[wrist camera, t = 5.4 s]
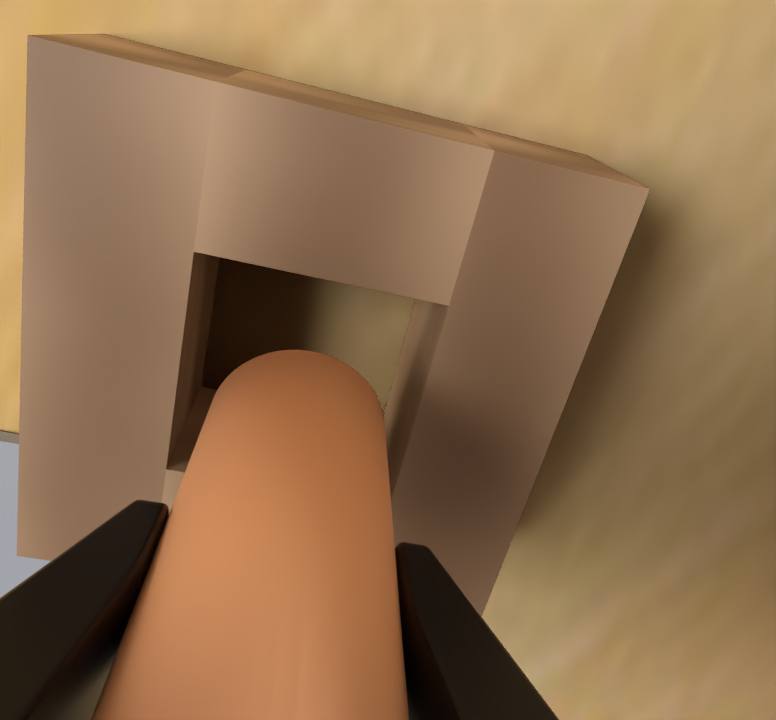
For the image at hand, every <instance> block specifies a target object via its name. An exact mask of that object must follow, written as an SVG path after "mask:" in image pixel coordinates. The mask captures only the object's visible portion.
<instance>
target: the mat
mask: <svg viewBox="0 0 776 720" xmlns="http://www.w3.org/2000/svg"><path fill="white" fill-rule="evenodd" d="M18 468H19V434H15V433H9V432H3V431H0V597H2V596H3V595H5V594H6V593H7V592H9V591H10V590H12V589H13V588H14V587H16V586H17V585H18V584H20V583H21V582H23V581H24V580H25V579H27V578H28V577H30V576H31V575H32V574H34V573H35V572H36V571H38V570H39V569H41V568H42V567H43V566H45V565H46V564H48V563H49V562H50V561H48V560H41V559H35V558H28V557H21V556H17V515H18Z"/></svg>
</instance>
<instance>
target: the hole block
mask: <svg viewBox="0 0 776 720" xmlns="http://www.w3.org/2000/svg"><path fill="white" fill-rule="evenodd" d="M649 191H650V189H649V188H647V187H645V186H643V185H641V184H639V183H638V182H636V181H634V180H632V179H630V178H628V177H626V176H625V175H623V174H621V173H619V172H617V171H615V170H613V169H611V168H610V167H608V166H606V165H604V164H602V163H600V162H598V161H597V160H595V159H593V158H591V157H589V156H587V155H584V154H580V153H576V152H572V151H568V150H564V149H560V148H556V147H552V146H548V145H544V144H540V143H536V142H532V141H528V140H524V139H520V138H516V137H512V136H508V135H504V134H500V133H496V132H492V131H488V130H484V129H480V128H476V127H472V126H469V125H465V124H461V123H457V122H453V121H449V120H445V119H441V118H437V117H433V116H429V115H425V114H421V113H417V112H413V111H409V110H405V109H401V108H397V107H393V106H389V105H385V104H381V103H377V102H373V101H369V100H365V99H361V98H357V97H353V96H349V95H345V94H341V93H337V92H333V91H329V90H325V89H321V88H317V87H313V86H310V85H306V84H302V83H298V82H294V81H290V80H286V79H282V78H278V77H274V76H270V75H266V74H262V73H258V72H254V71H250V70H246V69H242V68H238V67H234V66H230V65H226V64H222V63H218V62H214V61H210V60H206V59H202V58H198V57H194V56H190V55H186V54H182V53H178V52H174V51H170V50H166V49H162V48H158V47H154V46H151V45H147V44H143V43H139V42H135V41H131V40H127V39H123V38H119V37H115V36H111V35H107V34H65V35H28V43H27V90H26V138H25V185H24V232H23V279H22V326H21V373H20V421H19V468H18V515H17V556H21V557H28V558H35V559H41V560H48V561H52V560H53V559H54V558H56V557H57V556H59V555H60V554H61V553H63V552H64V551H66V550H67V549H68V548H70V547H71V546H73V545H74V544H75V543H77V542H78V541H79V540H81V539H82V538H84V537H85V536H86V535H88V534H89V533H91V532H92V531H93V530H95V529H96V528H97V527H99V526H100V525H102V524H103V523H104V522H106V521H107V520H109V519H110V518H111V517H113V516H114V515H115V514H117V513H118V512H120V511H121V510H122V509H124V508H125V507H127V506H128V505H129V504H131V503H132V502H134V501H136V500H147V501H153V502H159V503H164V504H166V505H167V506H168V508H169V513H170V510H171V508H172V505H173V503H174V500H175V497H176V495H177V492H178V489H179V487H180V484H181V482H182V479H183V476H184V474H185V471H186V468H187V466H188V463H189V461H190V458H191V455H192V453H193V450H194V447H195V445H196V442H197V440H198V437H199V434H200V432H201V429H202V426H203V424H204V421H205V419H206V416H207V413H208V411H209V408H210V405H211V403H212V400H213V398H214V395H215V393H216V392H217V390H218V389H212V388H207V387H202V386H201V384H202V377H203V370H204V363H205V356H206V349H207V343H208V336H209V329H210V322H211V315H212V308H213V301H214V294H215V287H216V280H217V273H218V266H219V259H220V257H221V258H226V259H231V260H235V261H240V262H245V263H250V264H254V265H259V266H264V267H268V268H273V269H278V270H283V271H287V272H292V273H297V274H301V275H306V276H311V277H316V278H320V279H325V280H330V281H334V282H339V283H344V284H349V285H353V286H358V287H363V288H367V289H372V290H377V291H382V292H386V293H391V294H396V295H400V296H405V297H410V298H415V299H416V300H415V303H414V307H413V311H412V314H411V318H410V322H409V325H408V329H407V333H406V336H405V340H404V344H403V347H402V351H401V355H400V358H399V362H398V366H397V369H396V373H395V377H394V380H393V384H392V388H391V391H390V395H389V399H388V402H387V406H386V410H385V413H384V423H385V434H386V447H387V459H388V471H389V483H390V495H391V507H392V519H393V531H394V544H395V548H396V546H397V545H398V544H399V543H401V542H406V543H413V544H419V545H424V546H427V547H428V548H429V549H430V550H431V551H432V552H433V554H434V555H435V556H436V558H437V559H438V560H439V562H440V563H441V564H442V566H443V567H444V568H445V570H446V571H447V572H448V573H449V575H450V576H451V577H452V579H453V580H454V581H455V583H456V584H457V585H458V587H459V588H460V589H461V591H462V592H463V593H464V595H465V596H466V597H467V599H468V600H469V601H470V603H471V604H472V605H473V607H474V608H475V609H476V611H477V612H478V613H479V614H480V616H482V614H483V611H484V609H485V606H486V604H487V601H488V599H489V596H490V594H491V591H492V588H493V586H494V583H495V581H496V578H497V576H498V573H499V571H500V568H501V566H502V563H503V561H504V558H505V556H506V553H507V550H508V548H509V545H510V543H511V540H512V538H513V535H514V533H515V530H516V528H517V525H518V523H519V520H520V518H521V515H522V513H523V510H524V507H525V505H526V502H527V500H528V497H529V495H530V492H531V490H532V487H533V485H534V482H535V480H536V477H537V475H538V472H539V469H540V467H541V464H542V462H543V459H544V457H545V454H546V452H547V449H548V447H549V444H550V442H551V439H552V437H553V434H554V432H555V429H556V426H557V424H558V421H559V419H560V416H561V414H562V411H563V409H564V406H565V404H566V401H567V399H568V396H569V394H570V391H571V388H572V386H573V383H574V381H575V378H576V376H577V373H578V371H579V368H580V366H581V363H582V361H583V358H584V356H585V353H586V350H587V348H588V345H589V343H590V340H591V338H592V335H593V333H594V330H595V328H596V325H597V323H598V320H599V318H600V315H601V313H602V310H603V307H604V305H605V302H606V300H607V297H608V295H609V292H610V290H611V287H612V285H613V282H614V280H615V277H616V275H617V272H618V269H619V267H620V264H621V262H622V259H623V257H624V254H625V252H626V249H627V247H628V244H629V242H630V239H631V237H632V234H633V231H634V229H635V226H636V224H637V221H638V219H639V216H640V214H641V211H642V209H643V206H644V204H645V201H646V199H647V196H648V194H649Z"/></svg>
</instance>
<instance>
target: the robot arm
mask: <svg viewBox="0 0 776 720" xmlns="http://www.w3.org/2000/svg"><path fill="white" fill-rule="evenodd" d="M168 516H169V508H168V506H167V505H166V504H164V503H159V502H153V501H147V500H136V501H134V502H132V503H131V504H129V505H128V506H127V507H125V508H124V509H122V510H121V511H120V512H118V513H117V514H115V515H114V516H113V517H111V518H110V519H109V520H107V521H106V522H104V523H103V524H102V525H100V526H99V527H97V528H96V529H95V530H93V531H92V532H91V533H89V534H88V535H86V536H85V537H84V538H82V539H81V540H79V541H78V542H77V543H75V544H74V545H73V546H71V547H70V548H68V549H67V550H66V551H64V552H63V553H61V554H60V555H59V556H57V557H56V558H54V559H53V560H52V561H50V562H49V563H48V564H46V565H45V566H43V567H42V568H41V569H39V570H38V571H36V572H35V573H34V574H32V575H31V576H30V577H28V578H27V579H25V580H24V581H23V582H21V583H20V584H18V585H17V586H16V587H14V588H13V589H12V590H10V591H9V592H7V593H6V594H5V595H3V596H2V597H0V720H91V718H92V715H93V713H94V710H95V707H96V705H97V702H98V700H99V697H100V694H101V692H102V689H103V686H104V684H105V681H106V679H107V676H108V673H109V671H110V668H111V665H112V663H113V660H114V658H115V655H116V652H117V650H118V647H119V644H120V642H121V639H122V637H123V634H124V631H125V629H126V626H127V623H128V621H129V618H130V616H131V613H132V610H133V608H134V605H135V602H136V600H137V597H138V595H139V592H140V590H141V587H142V584H143V582H144V579H145V576H146V574H147V571H148V569H149V566H150V563H151V561H152V558H153V555H154V553H155V550H156V548H157V545H158V542H159V540H160V537H161V534H162V532H163V529H164V527H165V524H166V521H167V519H168ZM395 556H396V568H397V580H398V592H399V604H400V616H401V628H402V640H403V653H404V665H405V677H406V689H407V701H408V713H409V720H559V719H558V718H557V716H556V715H555V714H554V712H553V711H552V710H551V708H550V707H549V706H548V704H547V703H546V702H545V701H544V699H543V698H542V697H541V695H540V694H539V693H538V691H537V690H536V689H535V687H534V686H533V685H532V683H531V682H530V681H529V679H528V678H527V677H526V675H525V674H524V673H523V671H522V670H521V669H520V667H519V666H518V665H517V663H516V662H515V661H514V659H513V658H512V657H511V656H510V654H509V653H508V652H507V650H506V649H505V648H504V646H503V645H502V644H501V642H500V641H499V640H498V638H497V637H496V636H495V634H494V633H493V632H492V630H491V629H490V628H489V626H488V625H487V624H486V622H485V621H484V620H483V618H482V617H481V616H480V614H479V613H478V612H477V611H476V609H475V608H474V607H473V605H472V604H471V603H470V601H469V600H468V599H467V597H466V596H465V595H464V593H463V592H462V591H461V589H460V588H459V587H458V585H457V584H456V583H455V581H454V580H453V579H452V577H451V576H450V575H449V573H448V572H447V571H446V570H445V568H444V567H443V566H442V564H441V563H440V562H439V560H438V559H437V558H436V556H435V555H434V554H433V552H432V551H431V550H430V549H429V548H428V547H427V546H424V545H419V544H413V543H406V542H401V543H399V544H398V545H397V546H396V548H395Z"/></svg>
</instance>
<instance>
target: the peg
mask: <svg viewBox="0 0 776 720" xmlns="http://www.w3.org/2000/svg"><path fill="white" fill-rule="evenodd" d="M91 720H409V713H408V701H407V689H406V677H405V665H404V653H403V640H402V628H401V616H400V604H399V592H398V580H397V568H396V556H395V544H394V531H393V519H392V507H391V495H390V483H389V471H388V459H387V447H386V434H385V423H384V415H383V411H382V407H381V404H380V402H379V400H378V397H377V395H376V394H375V392H374V390H373V389H372V387H371V386H370V385H369V384H368V382H367V381H366V380H365V379H364V378H363V377H362V376H361V375H360V374H359V373H358V372H357V371H355V370H354V369H353V368H351V367H350V366H348V365H347V364H345V363H343V362H342V361H340V360H338V359H336V358H333V357H331V356H328V355H325V354H321V353H318V352H314V351H306V350H282V351H275V352H271V353H266V354H263V355H261V356H258V357H255V358H253V359H251V360H249V361H247V362H245V363H244V364H242V365H241V366H239V367H238V368H236V369H235V370H234V371H233V372H232V373H231V374H230V375H229V376H227V378H226V379H225V380H224V381H223V383H222V384H221V385H220V387H219V388H218V390H217V392H216V393H215V395H214V398H213V400H212V403H211V405H210V408H209V411H208V413H207V416H206V419H205V421H204V424H203V426H202V429H201V432H200V434H199V437H198V440H197V442H196V445H195V447H194V450H193V453H192V455H191V458H190V461H189V463H188V466H187V468H186V471H185V474H184V476H183V479H182V482H181V484H180V487H179V489H178V492H177V495H176V497H175V500H174V503H173V505H172V508H171V510H170V513H169V516H168V519H167V521H166V524H165V527H164V529H163V532H162V534H161V537H160V540H159V542H158V545H157V548H156V550H155V553H154V555H153V558H152V561H151V563H150V566H149V569H148V571H147V574H146V576H145V579H144V582H143V584H142V587H141V590H140V592H139V595H138V597H137V600H136V602H135V605H134V608H133V610H132V613H131V616H130V618H129V621H128V623H127V626H126V629H125V631H124V634H123V637H122V639H121V642H120V644H119V647H118V650H117V652H116V655H115V658H114V660H113V663H112V665H111V668H110V671H109V673H108V676H107V679H106V681H105V684H104V686H103V689H102V692H101V694H100V697H99V700H98V702H97V705H96V707H95V710H94V713H93V715H92V718H91Z"/></svg>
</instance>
